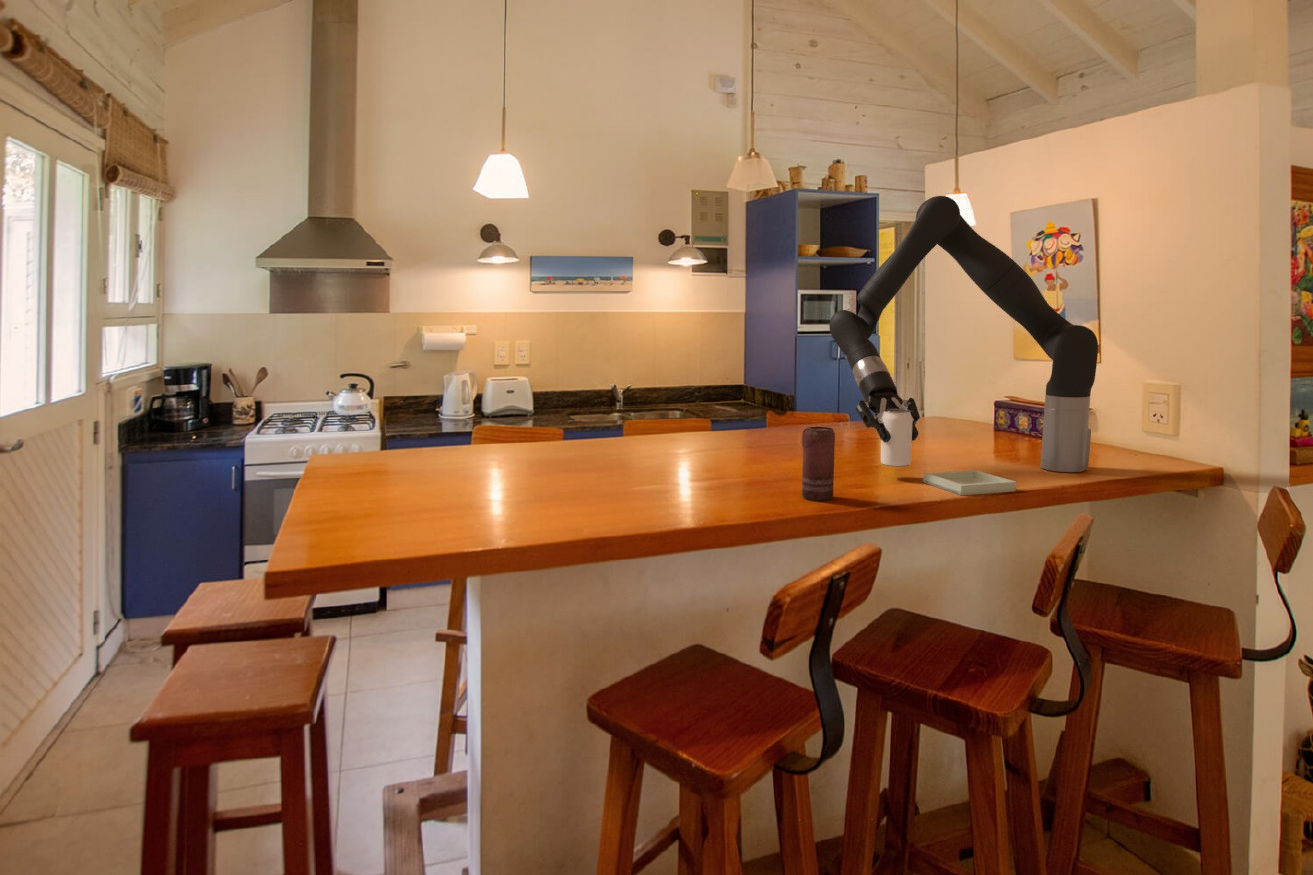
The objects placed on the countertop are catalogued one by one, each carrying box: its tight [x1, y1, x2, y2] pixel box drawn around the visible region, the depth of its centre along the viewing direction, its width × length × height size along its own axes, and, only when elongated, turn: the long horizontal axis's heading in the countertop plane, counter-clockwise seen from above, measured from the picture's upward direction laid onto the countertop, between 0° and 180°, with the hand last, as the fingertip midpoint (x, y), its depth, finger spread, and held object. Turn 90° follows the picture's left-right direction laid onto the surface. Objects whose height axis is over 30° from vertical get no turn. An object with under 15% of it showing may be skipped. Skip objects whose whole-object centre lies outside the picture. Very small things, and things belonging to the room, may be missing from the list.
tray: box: [922, 469, 1017, 496], centre depth 171 cm, size 13×13×2 cm
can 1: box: [801, 426, 836, 502], centre depth 161 cm, size 6×6×14 cm
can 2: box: [880, 409, 913, 468], centre depth 178 cm, size 6×6×12 cm
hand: (901, 439), depth 177 cm, fingers closed on can 2, 6 cm apart
